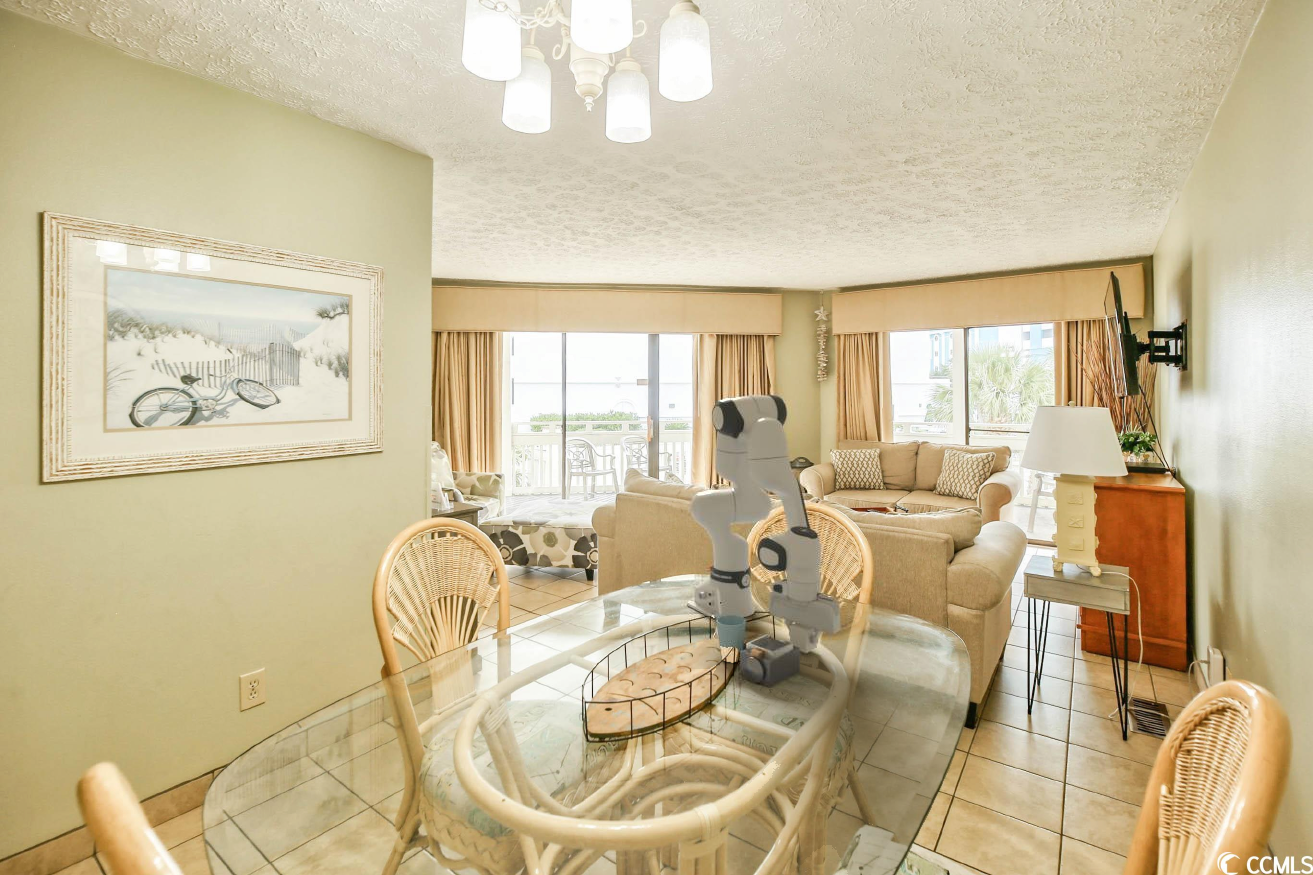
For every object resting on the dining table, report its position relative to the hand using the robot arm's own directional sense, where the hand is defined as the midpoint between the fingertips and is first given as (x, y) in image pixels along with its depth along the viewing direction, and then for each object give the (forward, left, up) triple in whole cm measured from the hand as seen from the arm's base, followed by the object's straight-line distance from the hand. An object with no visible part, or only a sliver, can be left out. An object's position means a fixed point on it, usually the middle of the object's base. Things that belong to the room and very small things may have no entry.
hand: (803, 639), depth 164 cm
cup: (-11, -17, -4) cm, 20 cm away
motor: (+1, -16, -3) cm, 17 cm away
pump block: (0, 0, -2) cm, 2 cm away
